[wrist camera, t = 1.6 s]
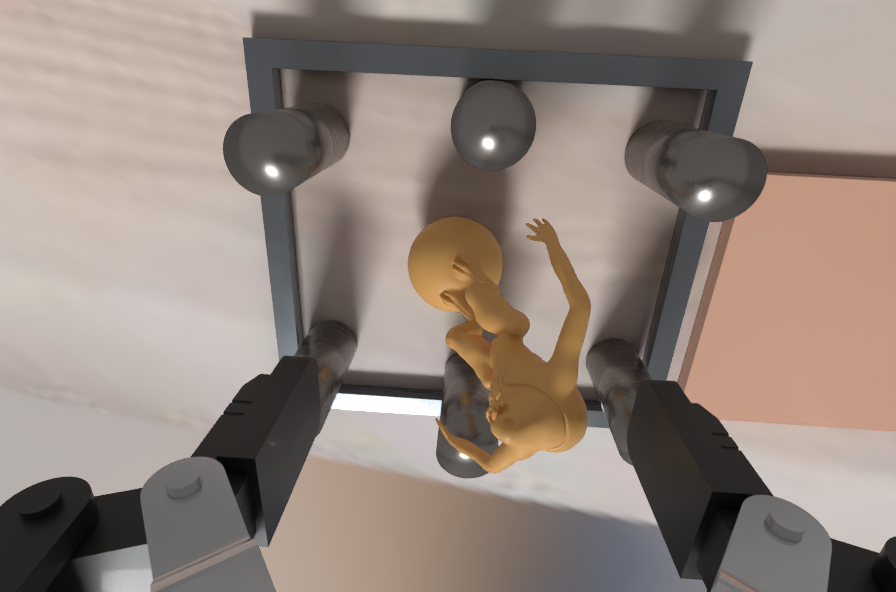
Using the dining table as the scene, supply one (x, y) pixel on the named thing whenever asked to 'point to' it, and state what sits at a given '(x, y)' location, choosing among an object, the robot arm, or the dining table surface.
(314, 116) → the standoff field
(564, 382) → the figurine
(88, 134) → the dining table surface
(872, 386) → the terracotta tile
